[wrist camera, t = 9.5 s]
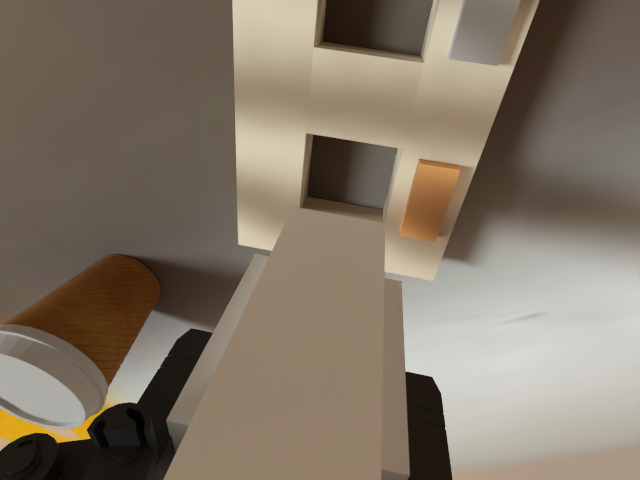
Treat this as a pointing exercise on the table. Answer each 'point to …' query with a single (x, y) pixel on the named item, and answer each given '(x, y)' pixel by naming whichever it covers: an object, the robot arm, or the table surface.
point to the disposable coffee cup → (74, 343)
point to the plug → (300, 364)
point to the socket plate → (369, 116)
